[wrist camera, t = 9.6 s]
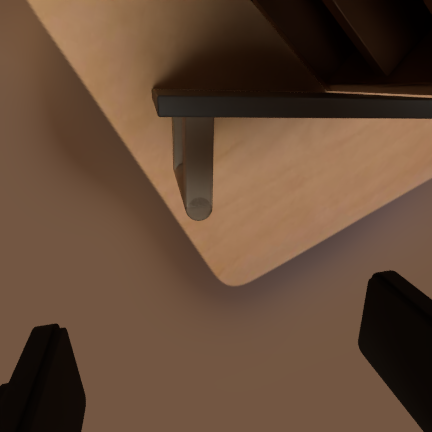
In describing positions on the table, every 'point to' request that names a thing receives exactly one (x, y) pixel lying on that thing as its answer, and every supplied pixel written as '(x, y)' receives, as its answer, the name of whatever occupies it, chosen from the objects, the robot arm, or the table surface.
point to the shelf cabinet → (359, 42)
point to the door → (254, 108)
